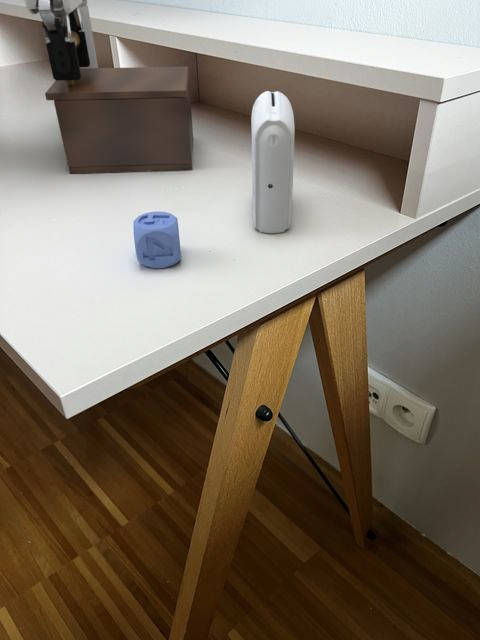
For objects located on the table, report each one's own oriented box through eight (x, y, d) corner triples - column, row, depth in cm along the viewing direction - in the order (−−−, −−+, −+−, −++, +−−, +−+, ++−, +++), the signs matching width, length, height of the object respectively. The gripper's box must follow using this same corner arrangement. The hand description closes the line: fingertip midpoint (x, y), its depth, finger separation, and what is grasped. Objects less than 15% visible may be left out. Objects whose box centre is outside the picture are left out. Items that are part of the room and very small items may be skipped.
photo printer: (293, 234, 58) (297, 110, 50) (251, 234, 58) (250, 109, 50) (289, 194, 66) (292, 81, 58) (252, 194, 66) (251, 81, 58)
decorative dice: (181, 267, 53) (177, 228, 50) (138, 270, 52) (132, 231, 50) (180, 247, 56) (176, 209, 53) (139, 250, 55) (134, 212, 53)
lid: (46, 100, 65) (33, 45, 62) (66, 75, 75) (56, 26, 72) (186, 97, 67) (182, 42, 63) (188, 72, 76) (184, 24, 73)
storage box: (69, 173, 71) (53, 100, 66) (85, 141, 81) (72, 75, 75) (192, 170, 72) (186, 97, 67) (193, 138, 82) (188, 73, 76)
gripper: (20, -113, 65) (56, 58, 76) (-27, -118, 51) (25, 91, 63) (86, -113, 65) (112, 57, 77) (56, -117, 52) (93, 90, 63)
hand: (72, 71), depth 69 cm, fingers closed on lid, 6 cm apart
